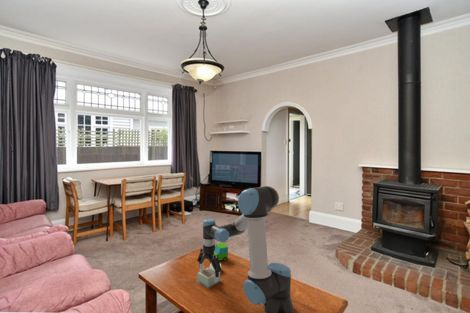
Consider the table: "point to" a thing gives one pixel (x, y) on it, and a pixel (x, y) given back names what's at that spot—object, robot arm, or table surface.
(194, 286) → the table surface
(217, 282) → the mat
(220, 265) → the bowl
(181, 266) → the table surface
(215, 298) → the table surface
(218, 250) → the toy car
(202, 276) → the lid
